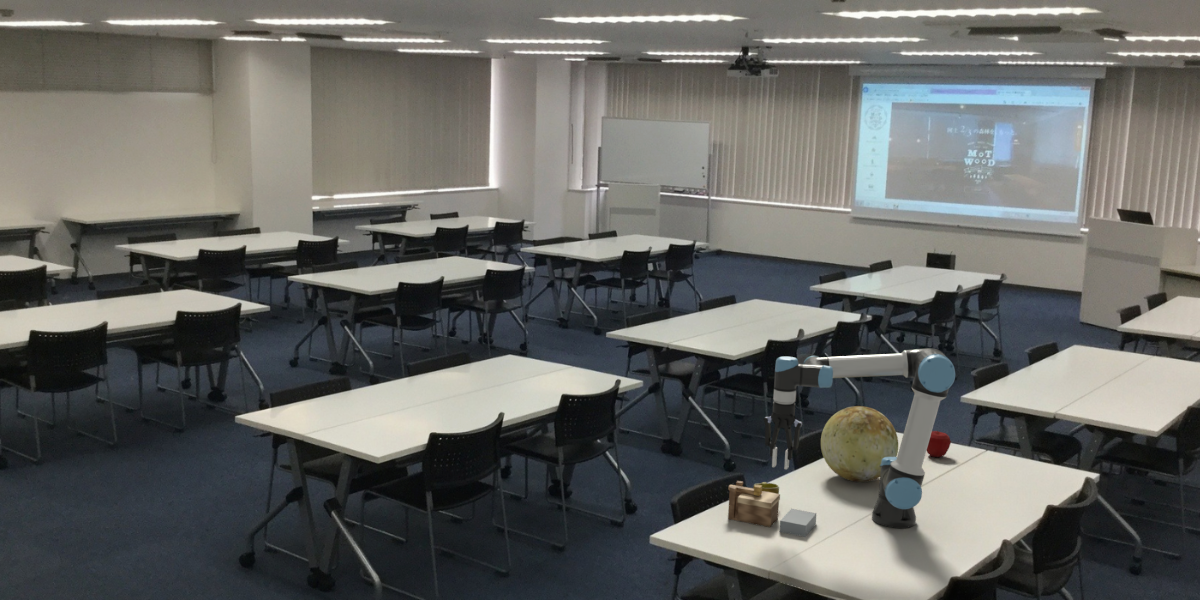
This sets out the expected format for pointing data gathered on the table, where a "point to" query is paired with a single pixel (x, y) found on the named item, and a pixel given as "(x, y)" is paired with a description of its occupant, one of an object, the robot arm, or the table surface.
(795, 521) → the block
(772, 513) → the toolbox
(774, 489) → the mug
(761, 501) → the lid
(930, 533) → the table surface
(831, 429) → the speckled ball
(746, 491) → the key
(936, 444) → the apple
